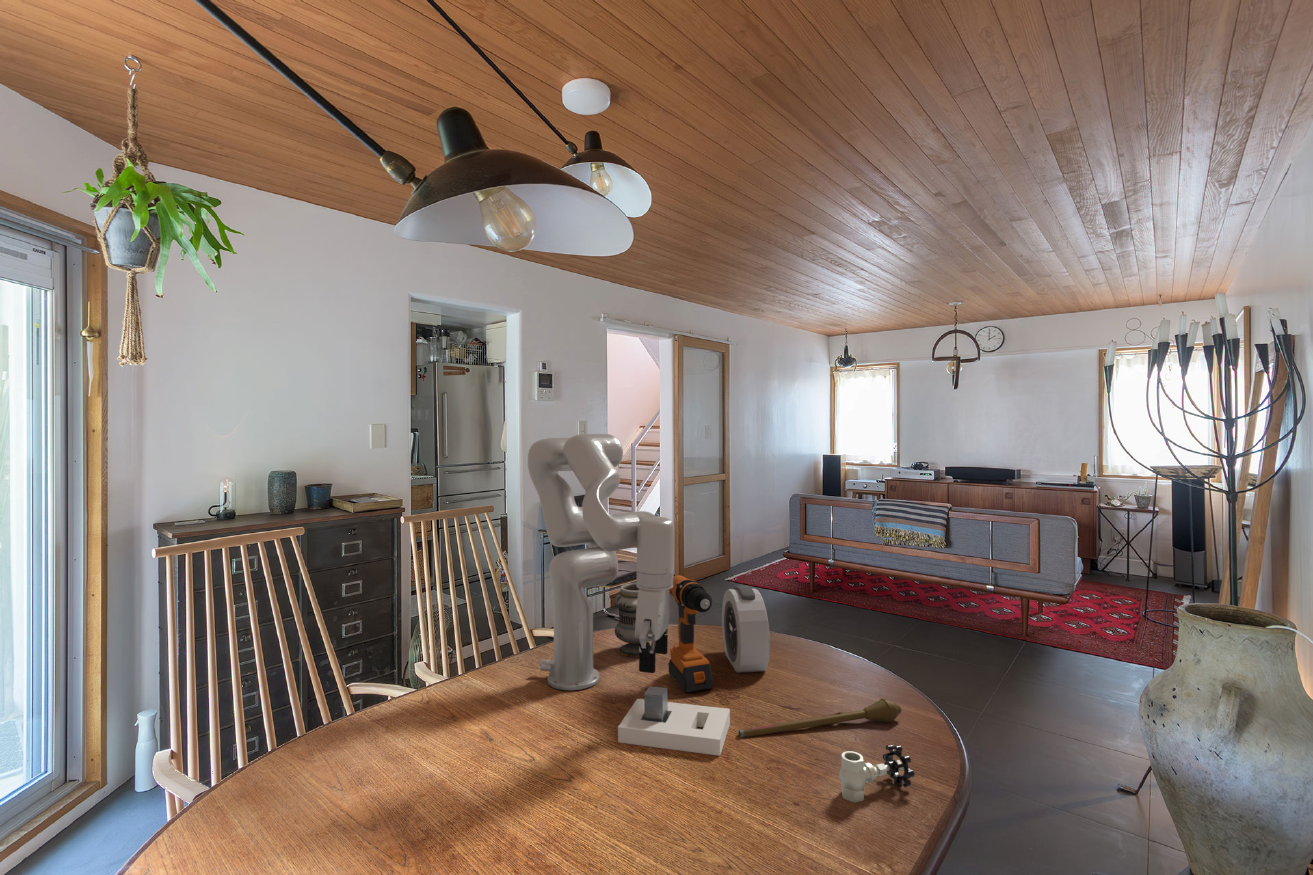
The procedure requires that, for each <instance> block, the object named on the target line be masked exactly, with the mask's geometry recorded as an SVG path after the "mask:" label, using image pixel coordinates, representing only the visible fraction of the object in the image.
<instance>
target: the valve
mask: <svg viewBox="0 0 1313 875" xmlns="http://www.w3.org/2000/svg"><path fill="white" fill-rule="evenodd" d="M885 750H886V751H888V752H887V753H883V754H882V760H883V761H884V763H877V764H876V763H875V764H873V765H872V763H870V762H868V761H867V762H865V761H864V757H863V755H862V754H861V753H859V752H856V751H852V750H851V751H849V750H848V751H843V752H841V753H840V755H841V756H840V758H841V762H840V763H841V766H840V769H839V771H838V772H839V774H838V775H839V776H838V777H839V782H840V783H841V784H840V785H841V786H840V787H841V788H840V789H841V796H842V799H843V800H847V801H848V802H849V801H850V802H851V803H859V802H862V801H864V800H865V789H864V788H865V785H866V783H867V784H871V783H874V782H876V780H877V777H883V776H886V775H888V776H889V777H890V778H891V779H892V780H893V783H894V784H895V786H901V785H902V786H903V787H904V788H907V787H911V786H912V782H911V780H910V778H914V777H915V771H914V770H913V769H911V768H910V767H909V764H910V763H912V762H911V761H912V759H911V757H910V755H903V748H902V746H901V745H900V744H899V745H895V746H894V745H893V744H888V745H887V744H886V745H885ZM894 756H897V757H898V758H899V759H894ZM900 771H904V772H903V775H901V774H900V773H899V772H900Z"/></svg>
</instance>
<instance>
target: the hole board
mask: <svg viewBox="0 0 1313 875" xmlns="http://www.w3.org/2000/svg"><path fill="white" fill-rule="evenodd" d="M730 725H731V709H730V708H726V707H717V706H707V705H696V704H691V703H678V702H671V701H668V719H667V721H666V723H663V722H655V721H646V720H644V698H637V699H636V700H635V701H634V703H633V704H632V706H631V707H630V708H629V710H628V712H627V713H626V715H625V716H624V717H623V719H622V720H621V722H620V724H618V725H617V743H621V744H629V745H636V746H643V747H651V748H659V749H664V750H665V749H667V750H674V751H679V752H680V751H682V752H689V753H697V754H704V755H713V756H719V757H720V756H721V754H722V751H723V747H724V744H725V741H726V737H727V735H728V731H729V728H730ZM698 727H699V728H698ZM701 728H702V729H701Z"/></svg>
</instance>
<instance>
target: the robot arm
mask: <svg viewBox="0 0 1313 875" xmlns="http://www.w3.org/2000/svg"><path fill="white" fill-rule="evenodd" d="M527 454H528V455H527V468H528V473H529V477H530V479H531V482H532V484H533V486H534V488H535V490H536V493H537V495H538V498H539V501H540V507H541V512H542V515H543V516H542V517H543V522H544V525H545V531H546V533H547V538H548V540H549V542H550V544H551V545H552V546H554V547H557V548H564V547H565V548H566V547H574V546H580V545H582V546H583V545H587V547H588V548H580V549H573V550H567V551H563V552H561V553H558V554H556V555H555V556H554V557H552V559H551V560H550V563H549V565H548V575H549V580H550V586H551V591H552V592H551V593H552V601H553V604H552V605H553V659H552V660H550V659H546V658H545V659H543V658H541V659H540V661H539V669H540V671H542V672H546V671H547V672H549V674H548V676H547V683H548V686H550V687H552V688H554V689H556V690H561V691H579V690H584V689H585V690H586V689H588V688H591V687H593V686H595V685H597V684H598V682H599V681H600V680H601V678H600V677H601V675H600V672H599V671H598V670H597V669H596V668H594V611H593V610H594V608H593V604H592V602H591V600H590V599H589V597H588V596H587V595H586V593H585V590H586V589H589V588H593V587H601V586H605V585H607V584H611V583H613V582H614V581H615V579H617V577H618V574H619V560H618V556H617V551H621V550H622V551H624V550H627V549H628V550H629V549H635V548H636V579H635V580H636V582H635V583H636V586H637V587H638V588H639V592H638V599H637V609H636V626H635V637H636V638H637V639H639V640H640V643H639V646H640V647H639V657H638V671H639V672H641V673H647V674H655V672H656V659H657V658H656V655H657V654H659V655H667V654H668V646H669V645H668V638H669V635H668V632H669V631H668V630H669V629H668V627H669V624H670V609H671V608H670V606H671V605H670V599H671V598H670V593H669V589H671V588H673V577H674V576H675V575H674V569H675V565H674V564H675V562H674V561H675V560H674V559H675V558H674V557H675V524H674V522H673V520H671V519H670V518H667V517H663V516H657V515H655V514H653V513H652V512H649V511H645V510H642V511H629V512H628V511H627V512H620V513H619V512H618V513H611V514H610V513H608V511H607V510H606V508H605V507H604V506H603V504H602V502H603V501H604V500H606V499H608V498H609V497H611V496H612V495H613V494H614V493H615V491H616V490H617V489H618V488H619V485H620V482H621V477H620V476H621V475H620V473H619V472H618V471H617V469H616V467H618V466H619V465H620V464H621V463H622V460H623V457H624V450H623V446H622V444H621V442H620V440H619V439H618V438H616V436H614V435H613V434H608V433H583V434H582V433H581V434H576V435H573V436H572V437H549V438H543V439H540V440H537V441H535V442H533V443H532V444H531V446H530V448H529V450H528V453H527ZM570 471H571V472H573V474H574V475H575V477H576V478H577V480H578V482H579V483H580V485H581V487H582V488H583V490H584V491H585V493H584V497H583V499H582V504H581V505H582V506H578V505H577V503H576V500H575V496H574V491H573V489H572V487H571V486H570V484H569V483H568V481H566V479H564V478H563V476H561V475H560V474H559V472H570ZM648 635H652V636H648ZM647 641H649V642H647ZM650 643H651V644H650ZM650 645H651V646H650Z"/></svg>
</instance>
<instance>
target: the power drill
mask: <svg viewBox="0 0 1313 875" xmlns="http://www.w3.org/2000/svg"><path fill="white" fill-rule="evenodd" d="M669 595H671V596H673V597H674V600H675V602H676V604H677V607H678V627H677V628H678V644H674V645H673V647H671V648H670V649H669V650H670V651H669V652H670V659H669V662H668V663H667V664H668V665H667V666H668V674H669V675H670V676H671V678H672V679H673V680H674V681H675V683H676V684H677V685H678V687H679V688H680V689H681V691H682V692H683V693H691V692H696V691H703V690H708V689H713V687H714V677H713V673H712V668H711V663H710V661H709V660H708V658H707V657H705V655H704V654H702V653H701V652H700V651H699V649H697V647H696V646H695V645H694V640H695V625H696V623H697V619H696V615H697V614H699V613H706V612H708V611H710V609H711V608H712V605H713V598H712V597H711V595H710V593H708V592H707V590H706V589H705V588H704V587H703V586H702V585H701V584H700V583H699V582H698V581H697V580H695V579H689V578H687V577H685V576H683V575H679V574H678V575H674V577H673V588H671V589H669Z"/></svg>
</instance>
